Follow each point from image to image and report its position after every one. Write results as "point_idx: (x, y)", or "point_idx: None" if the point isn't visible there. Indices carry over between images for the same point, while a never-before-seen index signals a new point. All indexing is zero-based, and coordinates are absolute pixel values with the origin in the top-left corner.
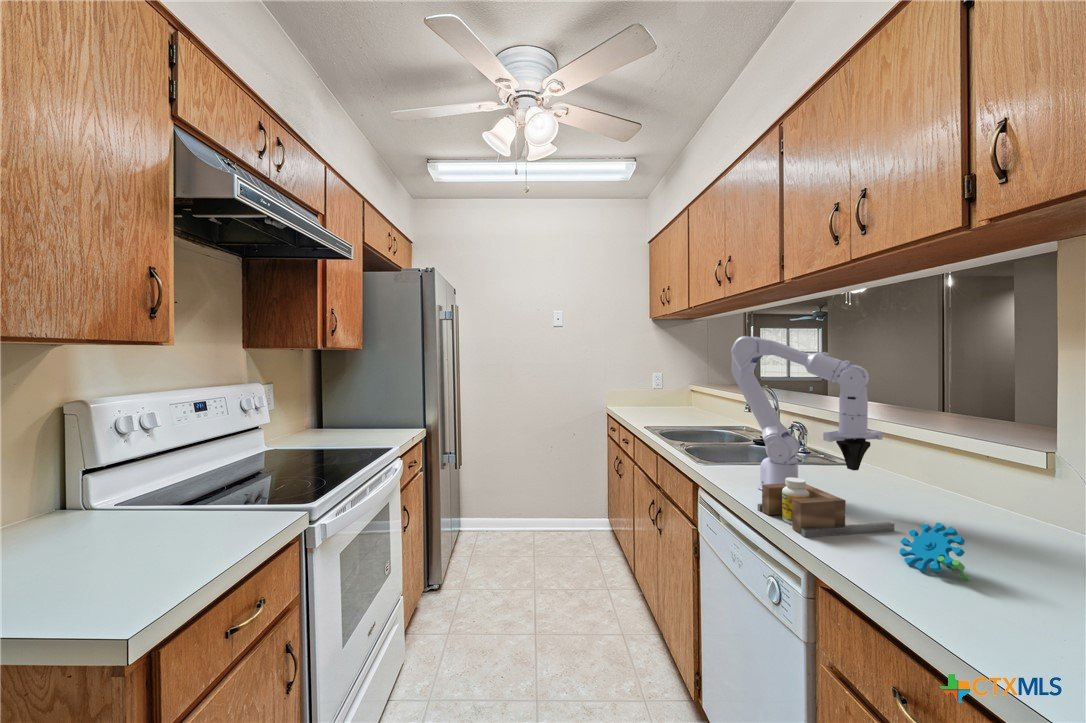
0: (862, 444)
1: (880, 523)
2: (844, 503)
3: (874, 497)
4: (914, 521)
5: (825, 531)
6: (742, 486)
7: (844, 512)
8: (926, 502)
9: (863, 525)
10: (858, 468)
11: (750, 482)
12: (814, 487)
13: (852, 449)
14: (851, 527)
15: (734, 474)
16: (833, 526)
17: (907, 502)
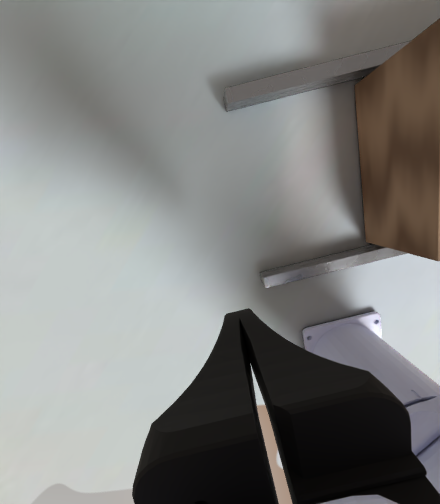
0: (253, 423)
1: (261, 90)
2: (431, 26)
3: (129, 347)
4: (127, 177)
5: None
6: None
7: (398, 53)
8: (15, 323)
9: (321, 68)
10: (228, 315)
11: None
12: (438, 198)
13: (338, 363)
14: (362, 54)
15: None
16: None
17: (65, 318)
